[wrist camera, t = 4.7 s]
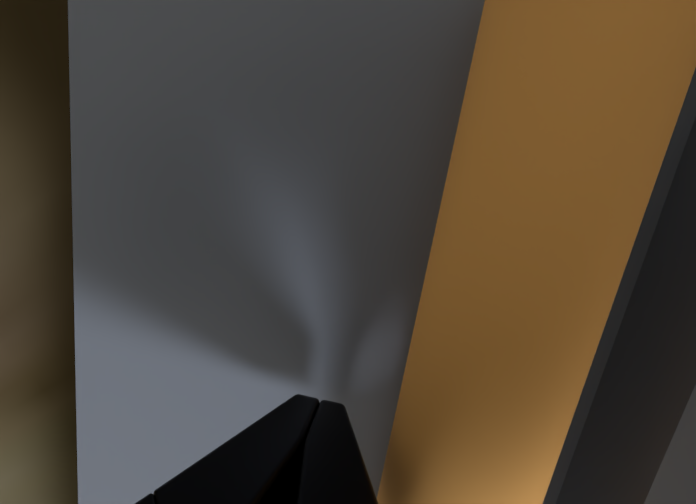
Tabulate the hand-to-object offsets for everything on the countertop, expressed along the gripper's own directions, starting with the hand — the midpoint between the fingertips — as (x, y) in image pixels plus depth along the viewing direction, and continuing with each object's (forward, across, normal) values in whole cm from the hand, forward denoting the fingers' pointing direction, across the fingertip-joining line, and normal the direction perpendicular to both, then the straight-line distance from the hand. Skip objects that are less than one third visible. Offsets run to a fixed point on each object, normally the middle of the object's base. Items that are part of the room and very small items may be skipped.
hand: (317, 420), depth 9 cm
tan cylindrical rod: (0, -2, 0) cm, 3 cm away
